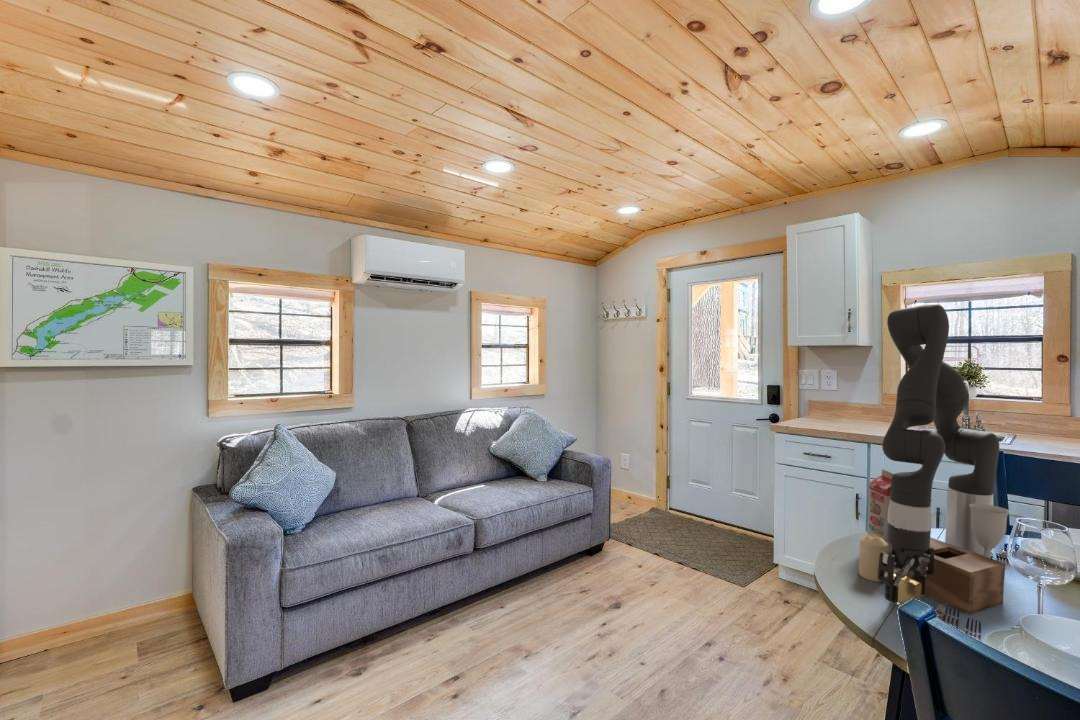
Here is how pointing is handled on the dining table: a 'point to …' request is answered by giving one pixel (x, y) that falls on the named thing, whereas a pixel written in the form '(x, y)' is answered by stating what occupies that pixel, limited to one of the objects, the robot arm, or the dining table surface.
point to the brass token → (908, 590)
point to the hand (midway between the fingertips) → (904, 597)
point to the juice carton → (879, 506)
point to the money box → (964, 578)
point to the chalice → (988, 525)
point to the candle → (871, 556)
